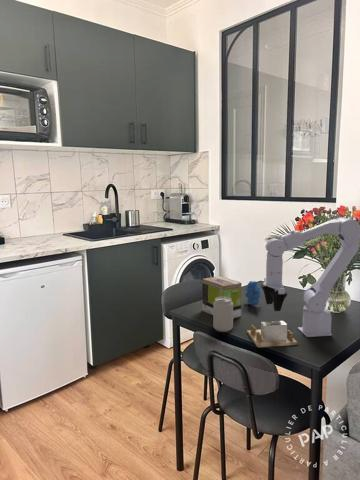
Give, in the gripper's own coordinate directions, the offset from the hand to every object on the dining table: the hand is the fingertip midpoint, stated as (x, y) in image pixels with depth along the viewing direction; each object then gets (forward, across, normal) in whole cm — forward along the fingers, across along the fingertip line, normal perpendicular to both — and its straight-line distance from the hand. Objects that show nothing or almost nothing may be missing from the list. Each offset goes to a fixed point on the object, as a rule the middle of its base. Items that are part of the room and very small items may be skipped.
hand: (273, 307), depth 132 cm
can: (+10, -5, -18) cm, 21 cm away
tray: (+9, +6, -3) cm, 12 cm away
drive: (+8, +9, -3) cm, 13 cm away
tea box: (+10, -21, -14) cm, 27 cm away
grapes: (+10, -28, +3) cm, 29 cm away
